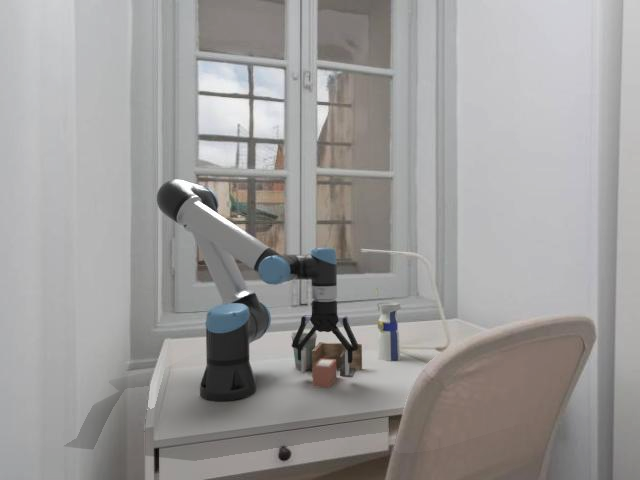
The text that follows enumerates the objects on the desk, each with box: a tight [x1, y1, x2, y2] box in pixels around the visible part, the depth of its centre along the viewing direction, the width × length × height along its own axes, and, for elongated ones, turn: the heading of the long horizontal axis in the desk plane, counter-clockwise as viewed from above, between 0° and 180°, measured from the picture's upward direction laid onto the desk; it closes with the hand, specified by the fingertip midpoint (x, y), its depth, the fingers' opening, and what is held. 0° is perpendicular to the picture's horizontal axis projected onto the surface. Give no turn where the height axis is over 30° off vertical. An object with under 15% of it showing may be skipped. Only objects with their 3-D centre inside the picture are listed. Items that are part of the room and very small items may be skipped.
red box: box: [312, 359, 337, 388], centre depth 120 cm, size 5×9×6 cm, turn 166°
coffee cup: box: [291, 328, 318, 371], centre depth 134 cm, size 8×8×12 cm
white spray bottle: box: [375, 289, 402, 362], centre depth 144 cm, size 8×9×25 cm
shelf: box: [311, 341, 363, 378], centre depth 128 cm, size 14×11×8 cm
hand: (325, 372), depth 120 cm, fingers open, 12 cm apart
